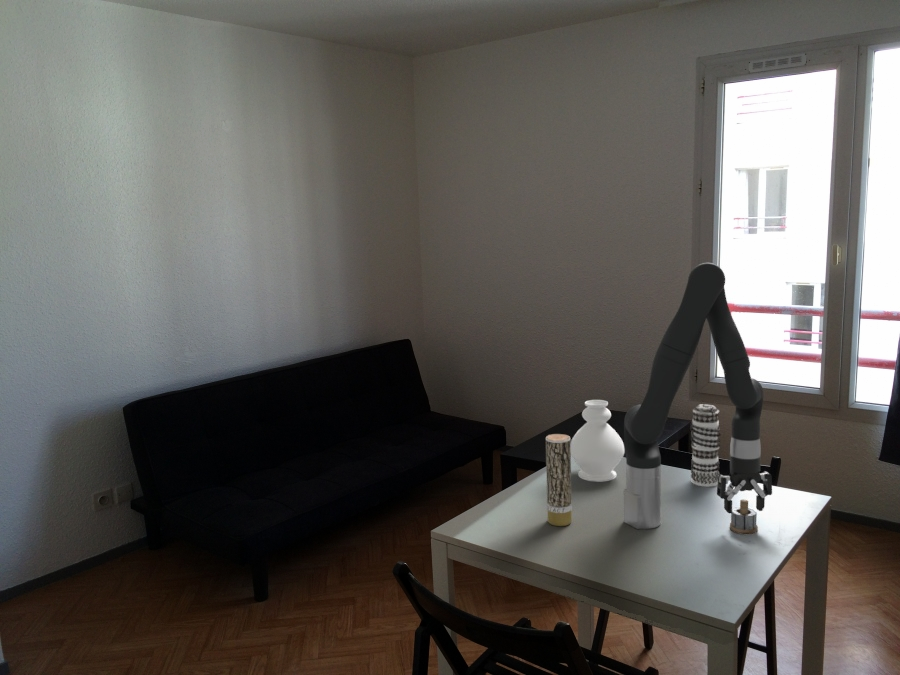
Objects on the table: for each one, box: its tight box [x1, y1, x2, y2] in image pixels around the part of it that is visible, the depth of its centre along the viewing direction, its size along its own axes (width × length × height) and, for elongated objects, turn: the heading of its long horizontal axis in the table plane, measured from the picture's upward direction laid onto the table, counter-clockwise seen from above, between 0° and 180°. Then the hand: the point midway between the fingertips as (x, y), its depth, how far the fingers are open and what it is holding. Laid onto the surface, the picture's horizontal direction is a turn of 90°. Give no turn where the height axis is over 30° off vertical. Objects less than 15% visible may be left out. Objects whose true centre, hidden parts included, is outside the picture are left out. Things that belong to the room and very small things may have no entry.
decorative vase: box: [570, 399, 625, 483], centre depth 242 cm, size 18×18×25 cm
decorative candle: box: [689, 403, 722, 488], centre depth 231 cm, size 9×9×25 cm
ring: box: [730, 506, 758, 530], centre depth 197 cm, size 6×6×4 cm
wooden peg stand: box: [729, 499, 759, 535], centre depth 197 cm, size 7×7×8 cm
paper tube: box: [545, 433, 573, 527], centre depth 205 cm, size 7×7×25 cm
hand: (744, 511), depth 197 cm, fingers open, 8 cm apart
